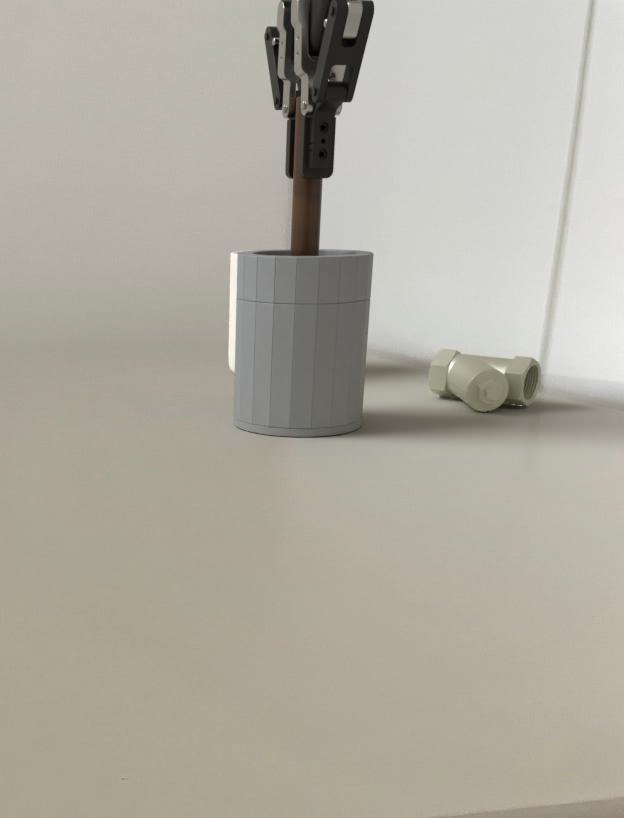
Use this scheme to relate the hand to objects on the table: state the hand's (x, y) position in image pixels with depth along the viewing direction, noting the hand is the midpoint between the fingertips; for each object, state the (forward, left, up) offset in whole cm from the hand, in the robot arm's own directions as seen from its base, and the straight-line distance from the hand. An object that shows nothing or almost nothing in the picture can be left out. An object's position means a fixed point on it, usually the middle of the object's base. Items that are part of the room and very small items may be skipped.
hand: (308, 177), depth 73 cm
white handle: (-6, -21, -17) cm, 28 cm away
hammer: (0, 0, -11) cm, 11 cm away
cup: (0, 0, -17) cm, 17 cm away
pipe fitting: (-16, -3, -17) cm, 24 cm away
